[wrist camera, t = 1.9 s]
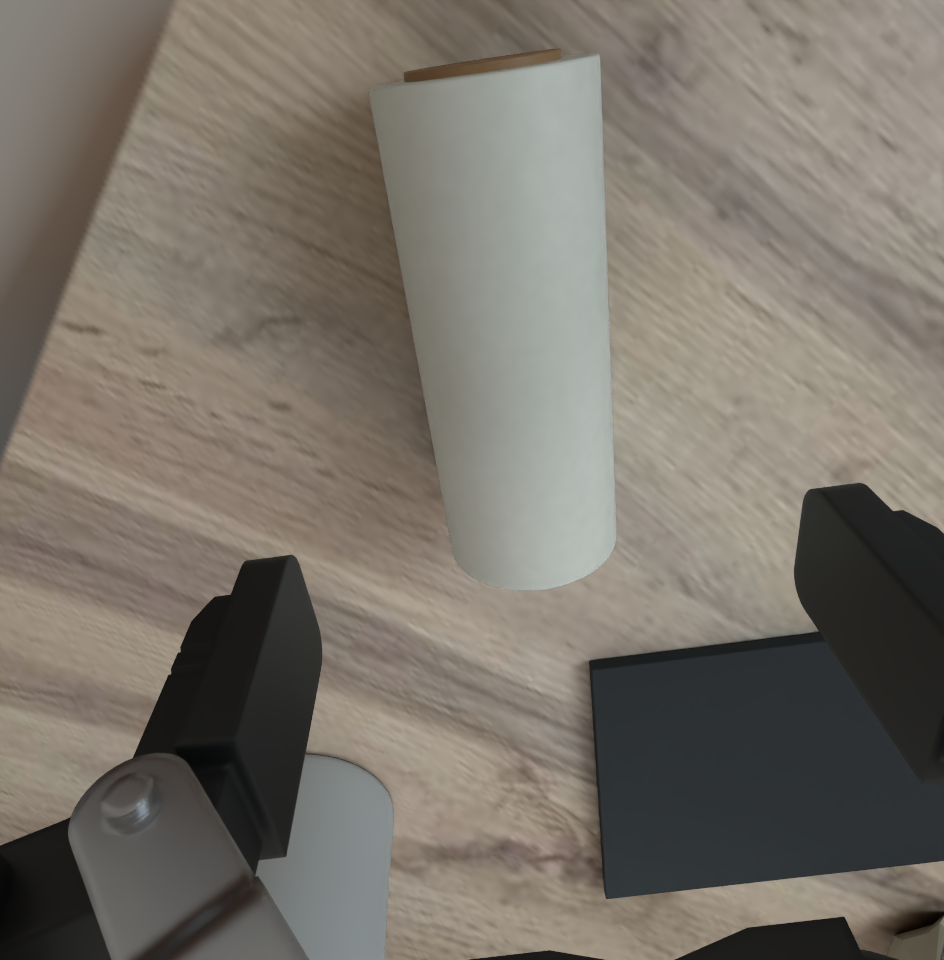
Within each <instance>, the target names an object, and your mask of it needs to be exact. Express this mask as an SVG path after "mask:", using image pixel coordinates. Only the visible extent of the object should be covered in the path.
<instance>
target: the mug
mask: <svg viewBox="0 0 944 960" xmlns="http://www.w3.org/2000/svg"><path fill="white" fill-rule="evenodd" d="M393 827H394V813H393V805H392V802H391V798H390V796H389V794H388V792H387V791H386V789H385V788H384V787H383V785H382V784H381V783H380V782H379V781H378V780H377V779H376V778H375V777H374V776H372V775H371V774H370V773H368V772H367V771H365V770H364V769H362V768H360V767H358V766H356V765H354V764H352V763H349V762H346V761H343V760H340V759H337V758H332V757H328V756H321V755H311V754H305V758H304V764H303V769H302V774H301V780H300V785H299V791H298V796H297V802H296V807H295V812H294V818H293V823H292V829H291V834H290V839H289V845H288V850H287V856H286V857H283V858H274V859H266V860H259V862H258V866H257V871H256V875H255V876H256V877H257V876H258V877H259V878H260V879H261V881H262V882H263V884H264V886H265V887H266V889H267V890H268V892H269V894H270V895H271V897H272V898H273V900H274V902H275V903H276V905H277V907H278V908H279V910H280V912H281V913H282V915H283V917H284V918H285V920H286V922H287V923H288V925H289V927H290V928H291V930H292V932H293V933H294V935H295V937H296V938H297V940H298V942H299V943H300V945H301V947H302V948H303V950H304V952H305V953H306V955H307V957H308V958H309V960H384V955H385V939H386V922H387V906H388V890H389V875H390V862H391V850H392V839H393Z"/></svg>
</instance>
